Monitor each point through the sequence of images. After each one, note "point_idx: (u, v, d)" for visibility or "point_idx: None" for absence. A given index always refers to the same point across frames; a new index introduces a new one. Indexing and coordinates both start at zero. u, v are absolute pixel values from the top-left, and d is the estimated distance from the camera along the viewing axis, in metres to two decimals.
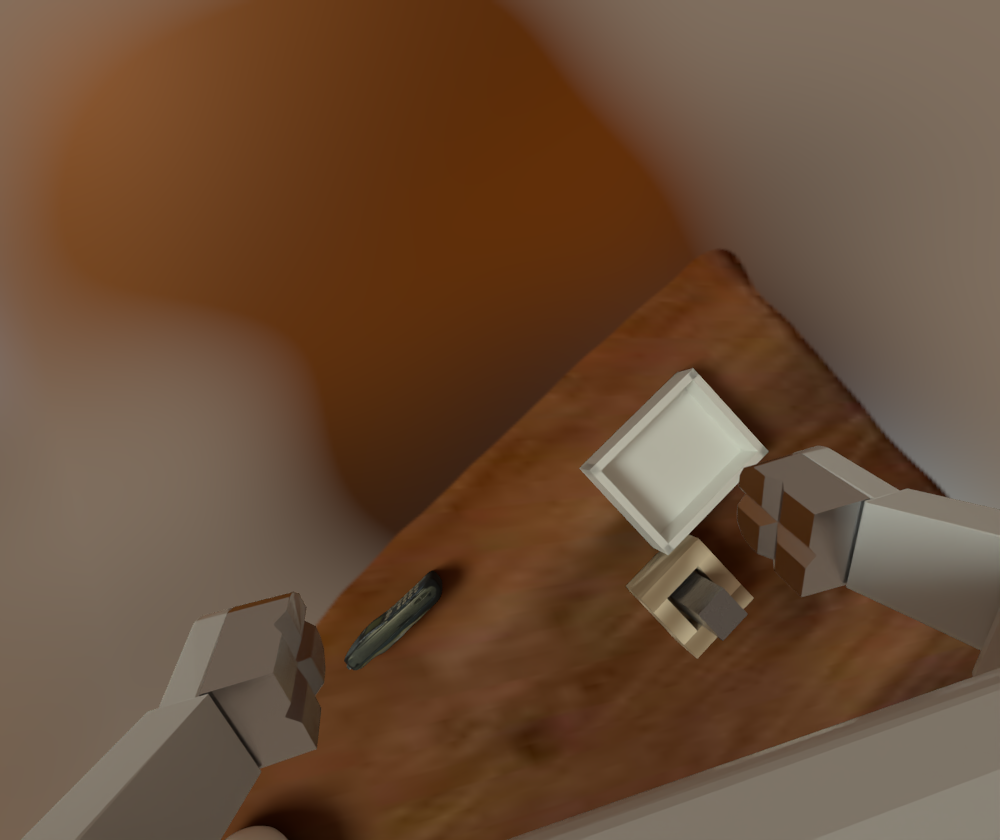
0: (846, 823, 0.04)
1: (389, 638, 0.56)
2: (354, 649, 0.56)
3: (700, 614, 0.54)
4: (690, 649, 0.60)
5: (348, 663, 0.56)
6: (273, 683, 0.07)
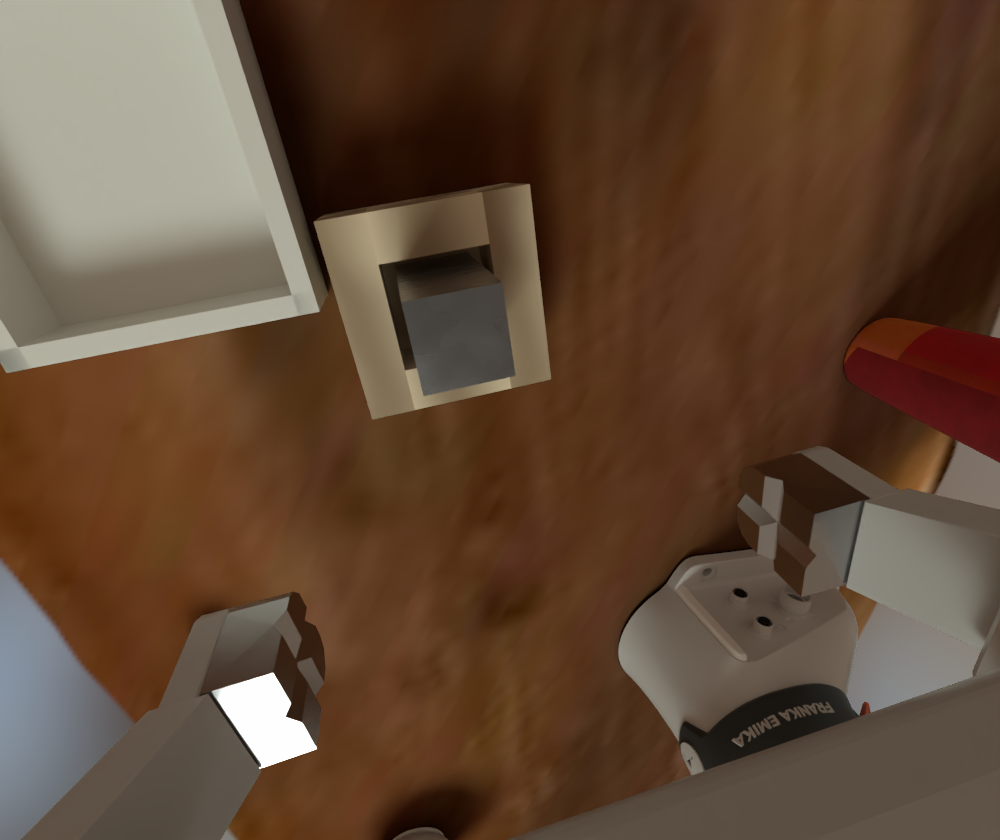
0: (846, 823, 0.04)
1: None
2: None
3: (426, 391, 0.21)
4: (527, 381, 0.28)
5: None
6: (273, 683, 0.07)
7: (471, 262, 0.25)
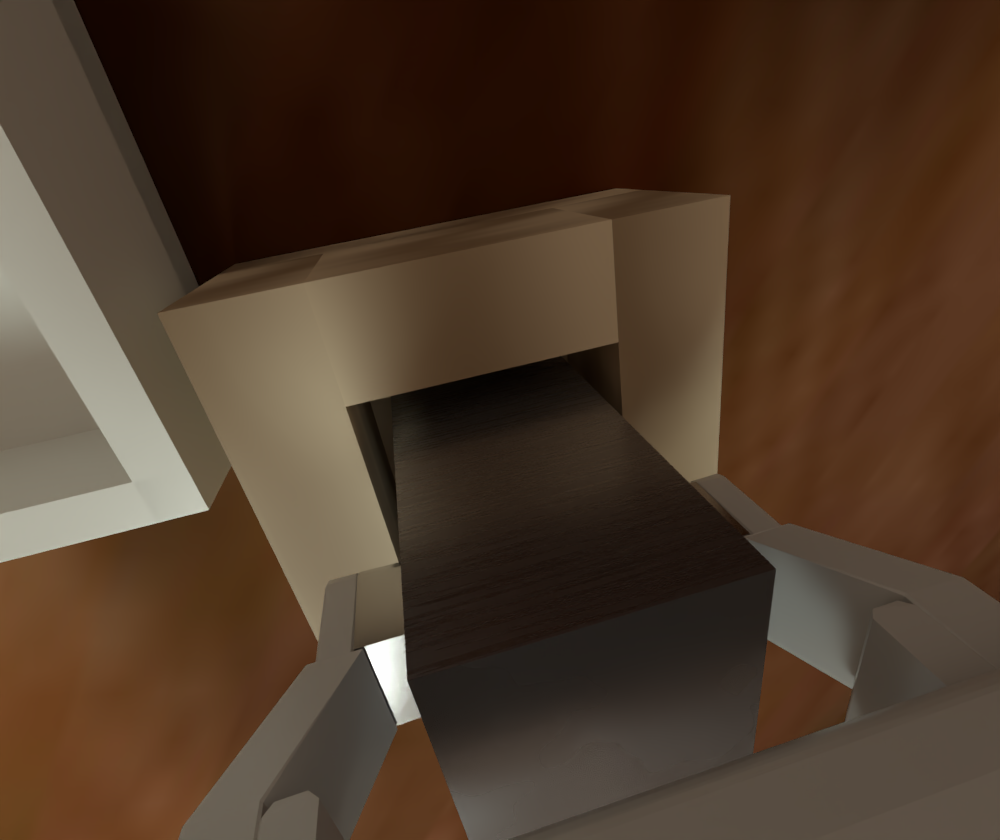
0: (846, 823, 0.04)
1: None
2: None
3: None
4: None
5: None
6: None
7: (572, 385, 0.10)
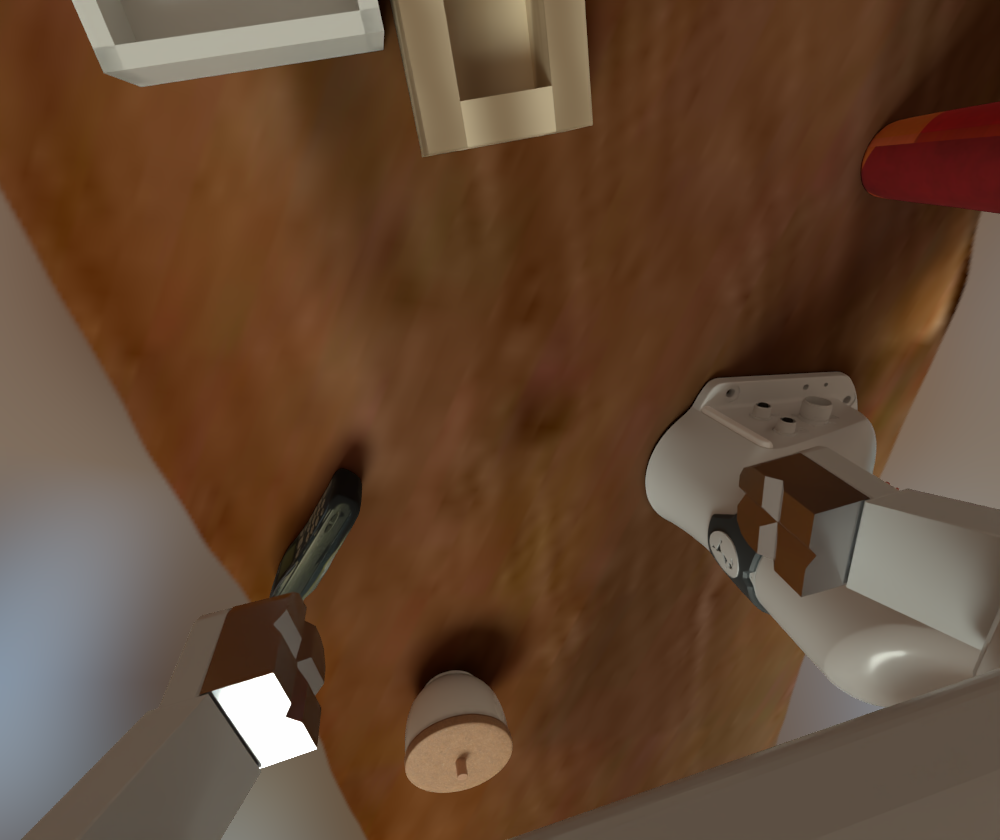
0: (846, 823, 0.04)
1: (311, 578, 0.40)
2: None
3: None
4: (570, 125, 0.30)
5: None
6: (273, 683, 0.07)
7: None
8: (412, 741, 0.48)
